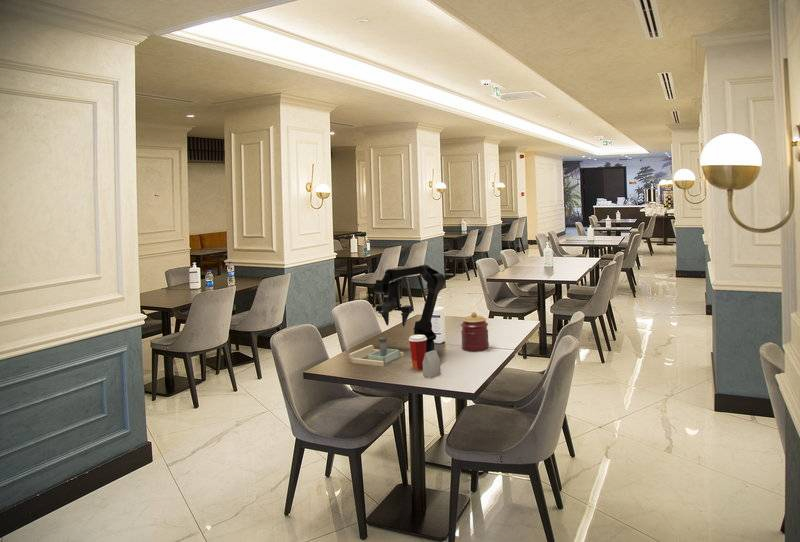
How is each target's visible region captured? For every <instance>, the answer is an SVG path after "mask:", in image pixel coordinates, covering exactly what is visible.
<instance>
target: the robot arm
mask: <svg viewBox="0 0 800 542" xmlns="http://www.w3.org/2000/svg"><path fill="white" fill-rule="evenodd" d="M414 275H421V277H422V278H423V280H424V281H425V282H426V289H427V294H426V299H425V302H424V306H423V310H422V313H421V317H420V319H419V320H418V321H415V322H414V327H413V334H414V335H425V336H426V338H427V340H426V353H427V352H430V351H433V350H436V349H435V341H436V339H437V334H436V333H435V332H434V331H433V325H432V318H433V314H434V310H435V306H436V303H437V299H438V297H439V293H440V292H441V290H442V289H443V287H444V285H445V284H446V280H447V279H446V277H445V275H444V274H443V273H440V272H439V271H438V270H436V269H434V268H432V267H430V266H429V265H428V264H421V265H417V266H412V267H407V268H401V267H394V268H388V269H386V270H385V271H384V275H383V277H382V278H381V279H375V283H374V284H373V292H374V293H375V294H381V295H382V294H383V295H384V294H385V295H386V294H387V297H386V300H385V301H384V302H383V303H379V304H377V305H376V306H375V312H377V313H378V314H380V315H381V316H382V318H383V321H384V322H385V325H386V326H389V323H390V321H389V320H390V316H389V315H390V313H391V312H393V311H398V312H401V313H400V315H401V319H402V320H401V321H402V322H401V323H402V327H405V326H406V323H407V321H408V318H409V316H410V314H412V313H413V312H414V311H415V307H414V306H413V305H411V304H410V305H409V304H405V305H403V304H402V303H401V298H402V295H400V293H401V292H400V286H403V285H404V283H403V282H401V280H400V279H403V278H404V277H408V276H409V277H410V276H414ZM402 305H403V306H402Z"/></svg>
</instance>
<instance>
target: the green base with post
mask: <svg viewBox="0 0 800 542" xmlns="http://www.w3.org/2000/svg"><path fill="white" fill-rule="evenodd" d="M378 341H379V349H378V351H376V352H373V353H371V354H369V355H367V356H366V359H368V360H377V361H384V366H385V365H387V364H389V363H391V362H394V361H395V360H397V359H400V358H401V357H400V352H401V351H400V349H393V348H388V345H387V341H388V337H387V336H380V337H378Z"/></svg>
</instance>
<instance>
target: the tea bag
mask: <svg viewBox="0 0 800 542" xmlns="http://www.w3.org/2000/svg"><path fill="white" fill-rule="evenodd" d="M422 363H423V370H422V377H423V376H424V377H423V378H427V377H429V378H428V379H431V378H434V377H436V375H437V376H439V375H441V371H442V370H441V359H440V357H439V354H438V352H437V349H435V350H433V351H430V352H427V353H425V356H424V359H423V362H422ZM433 376H434V377H433Z"/></svg>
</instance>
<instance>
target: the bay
mask: <svg viewBox="0 0 800 542" xmlns="http://www.w3.org/2000/svg"><path fill="white" fill-rule="evenodd" d="M378 350H379V349H378V348H377V349H376V348H375V346H374V344H370V345H367V346H365V347H362V348H360V349H358V350H355V351H353V352H351V353H350V352H349V353H348V362H349V363H350V364H359V365H367V366H376V367H384V366H385V365H384V361H377V360H368V359H367V355H369V354H371V353H373V352H376V351H378ZM404 353H405V352H404V351H400V358H403V357H404V355H405V354H404Z"/></svg>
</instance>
